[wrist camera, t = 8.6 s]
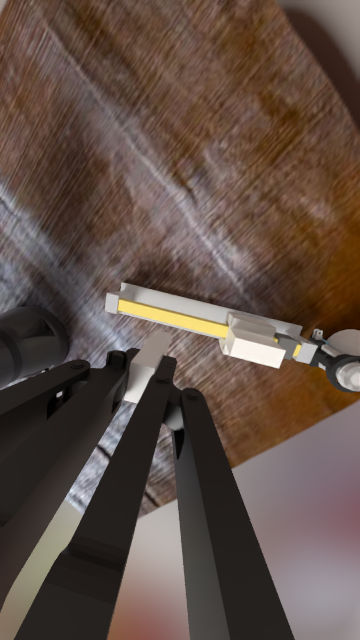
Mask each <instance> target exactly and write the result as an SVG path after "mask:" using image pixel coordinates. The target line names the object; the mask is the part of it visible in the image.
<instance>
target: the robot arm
mask: <svg viewBox="0 0 360 640" xmlns="http://www.w3.org/2000/svg"><path fill="white" fill-rule="evenodd" d="M170 338H171V334H170V333H166V332H162V331H158V330H156V331H155V333H154V334H153V335H152V336H151V338H150V339H149V340H148V341H147V343H146V344H145V345H144V346H143V348H142V349H141V350H140V349H136V348H131V349H128V350H127V351H126V352H124V351H119V350H114V351H110V352H108V353H107V360H106V365H105V366H104V367H103V368H90V366H91V365H90V363H89V362H88V361H86V360H81V359H78V360H72V361H69V362H67V363H64V364H62V365H60V364H61V363H62V362H63V361H64V360H65V358H66V356H67V352H68V338H67V335H66V332H65V330H64V328H63V326H62V324H61V323H60V322H59V320H58V319H57V318H56V317H55V316H54V315H52V314H51V313H50V312H48V311H47V310H45V309H43V308H40V307H36V306H24V307H17V308H13V309H11V310H8V311H6V312H5V313H2V314H0V388H2V387H4V386H5V385H7V384H9V383H11V382H13V381H15V380H18V379H22V378H26V377H30V376H33V377H31V378H29V379H26V380H24V381H22V382H19V383H17V384H15V385H12V386H10V387H7V388H5V389H3V390H0V612H1V609H2V607H3V604H4V602H5V599H6V597H7V594H8V593H9V591H10V589H11V587H12V585H13V583H14V581H15V579H16V578H17V576H18V575H19V573H20V571H21V569H22V568H23V566H24V565H25V563H26V561H27V560H28V558H29V556H30V555H31V553H32V551H33V549H34V548H35V546H36V545H37V543H38V542H39V540H40V538H41V536H42V535H43V533H44V531H45V530H46V528H47V527H48V525H49V523H50V521H51V520H52V518H53V517H54V515H55V513H56V511H57V510H58V508H59V507H60V505H61V503H62V502H63V500H64V499H65V497H66V495H67V494H68V492H69V490H70V489H71V487H72V485H73V484H74V482H75V480H76V479H77V477H78V475H79V474H80V472H81V470H82V469H83V467H84V465H85V464H86V462H87V461H88V459H89V457H90V456H91V454H92V452H93V451H94V449H95V447H96V446H97V444H98V442H99V441H100V439H101V437H102V436H103V434H104V432H105V431H106V429H107V427H108V426H109V424H110V423H111V421H112V419H113V418H114V416H115V414H116V413H117V411H118V409H119V408H120V406H121V403H122V398H123V396H124V395H125V399H124V400H127V401H130V402H134V403H138V404H137V406H136V408H135V410H134V412H133V414H132V416H131V418H130V420H129V422H128V425H127V427H126V429H125V431H124V433H123V435H122V437H121V439H120V441H119V443H118V445H117V447H116V449H115V451H114V453H113V455H112V457H111V459H110V461H109V464H108V466H107V468H106V470H105V472H104V474H103V476H102V478H101V480H100V482H99V484H98V486H97V488H96V490H95V492H94V494H93V496H92V498H91V500H90V502H89V505H88V507H87V509H86V511H85V513H84V515H83V517H82V519H81V521H80V523H79V525H78V527H77V529H76V531H75V533H74V535H73V537H72V539H71V541H70V543H69V544H68V546H67V547H66V548H65V549H64V550H63V551H62V552H61V553H60V554H59V556H58V557H57V559H56V560H55V562H54V564H53V565H52V567H51V569H50V571H49V573H48V574H47V576H46V578H45V580H44V582H43V584H42V586H41V587H40V589H39V591H38V593H37V595H36V597H35V599H34V601H33V603H32V605H31V607H30V609H29V611H28V613H27V615H26V617H25V619H24V621H23V623H22V625H21V627H20V628H19V630H18V632H17V634H16V637H15V638H14V640H107V638H108V634H109V629H110V625H111V622H112V618H113V614H114V610H115V606H116V602H117V597H118V594H119V590H120V586H121V582H122V578H123V574H124V570H125V567H126V563H127V558H128V555H129V550H130V547H131V543H132V539H133V535H134V531H135V527H136V523H137V519H138V515H139V511H140V507H141V503H142V499H143V495H144V491H145V488H146V484H147V480H148V476H149V472H150V468H151V464H152V460H153V456H154V452H155V448H156V444H157V440H158V436H159V432H160V428H161V424H162V423H164V424H165V425H167V426H169V427H170V428H172V431H171V433H172V444H173V455H174V466H175V477H176V488H177V499H178V510H179V521H180V532H181V543H182V554H183V565H184V575H185V586H186V598H187V609H188V621H189V630H190V631H189V632H190V640H295V639H294V636H293V634H292V631H291V629H290V626H289V623H288V620H287V618H286V615H285V612H284V610H283V607H282V604H281V602H280V599H279V597H278V594H277V591H276V588H275V586H274V583H273V580H272V578H271V575H270V572H269V570H268V567H267V564H266V561H265V559H264V556H263V553H262V551H261V548H260V545H259V543H258V540H257V537H256V535H255V532H254V530H253V527H252V524H251V521H250V518H249V516H248V513H247V510H246V508H245V505H244V502H243V500H242V497H241V494H240V492H239V489H238V487H237V484H236V481H235V478H234V476H233V473H232V470H231V468H230V465H229V462H228V460H227V457H226V454H225V451H224V449H223V446H222V443H221V441H220V438H219V435H218V433H217V430H216V427H215V425H214V422H213V419H212V417H211V414H210V411H209V409H208V406H207V403H206V401H205V398H204V396H203V394H202V393H201V392H200V391H198V390H196V389H194V388H185V389H183V390H180V389H178V388H177V387H176V386H175V385H174V384H173V376H174V372H175V368H176V364H177V361H176V358H173V357H169V356H167V352H168V347H169V343H170ZM34 375H36V376H34ZM61 391H62V395H61V396H60V397H56V395H57V393H59V392H61Z"/></svg>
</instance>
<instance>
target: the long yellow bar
mask: <svg viewBox="0 0 360 640" xmlns="http://www.w3.org/2000/svg"><path fill="white" fill-rule="evenodd" d="M117 310H118V311H122V312H126V313H130V314H134V315H138V316H142V317H146V318H150V319H153V320H157V321H161V322H165V323H169V324H173V325H177V326H181V327H185V328H188V329H192V330H196V331H200V332H204V333H208V334H212V335H216V336H220V337H223V338H225V337H226V334H227V331H228V327H229V325H228V324H224V323H220V322H216V321H212V320H208V319H204V318H200V317H196V316H192V315H188V314H184V313H180V312H176V311H172V310H168V309H164V308H160V307H156V306H152V305H148V304H144V303H140V302H136V301H132V300H128V299H124V298H123V299H119V302H118V309H117ZM273 340H274V341H275V342H276V343H278V344H279V345H280V346H281V347H282V348H284V349H285V350H286V352H285V355H284V357H283V358H285V359H289V360H291V358H292V356H297V355H298V353H299V351H300V348H301V345H300V344H298V341H297V340H295V339H294V338H292V337H290V336H289V335H285V334H281V333H277V332H275V334H274V337H273Z"/></svg>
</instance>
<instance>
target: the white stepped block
mask: <svg viewBox="0 0 360 640" xmlns="http://www.w3.org/2000/svg"><path fill="white" fill-rule="evenodd" d="M224 324H228V325H229V327H228V331H227V334H226V337H225V338H223V337H220V339H219V343H220V347H221V350H222V354H226V355H229V356H233V357H237V358H241V359H245V360H248V361H252V362H256V363H260V364H264V365H268V366H271V367H275V368H279V366H280V364H281V362H282V359H283V357H284V355H285V352H286V350H285V349H284V348H282V347H281V346H280V345H279V344H278V343H276V342H275V341H274V340H273V337H274V334H275V332H276V328H275V327H273V326H272V325H270V324H269V323H267V322H266V321H264V320H262V319H258V318H254V317H250V316H246V315H242V314H238V313H234V312H230V311H228V312H227V316H226V319H225V322H224Z"/></svg>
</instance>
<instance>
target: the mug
mask: <svg viewBox="0 0 360 640" xmlns="http://www.w3.org/2000/svg"><path fill="white" fill-rule="evenodd" d="M327 341H328V342H329V347H330V348H332V349H333V350H335V351H337V352H339V353H341V354H349V355H354V356H360V331H359V330H355V329H347V330H342V331H339V332H337V333H335V334H333V335H332V336H330V337H329V338H328V339H327ZM356 362H358V363H359V361H356Z"/></svg>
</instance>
